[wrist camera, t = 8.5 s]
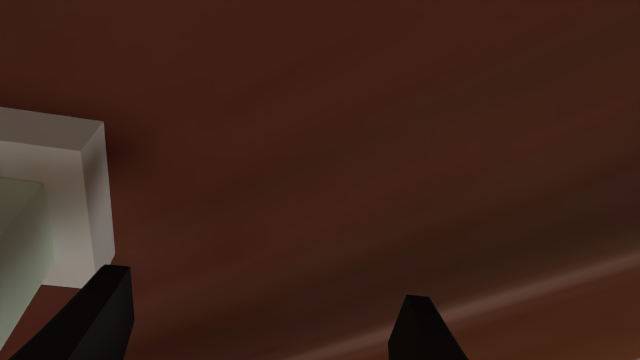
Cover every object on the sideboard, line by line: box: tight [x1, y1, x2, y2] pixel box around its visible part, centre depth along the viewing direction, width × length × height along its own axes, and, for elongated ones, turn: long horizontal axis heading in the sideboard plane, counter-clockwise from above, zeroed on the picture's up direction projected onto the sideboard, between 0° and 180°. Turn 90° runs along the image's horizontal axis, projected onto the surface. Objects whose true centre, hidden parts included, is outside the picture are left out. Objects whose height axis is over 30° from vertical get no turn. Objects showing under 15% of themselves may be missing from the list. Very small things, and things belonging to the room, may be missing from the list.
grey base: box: [0, 107, 115, 288], centre depth 22 cm, size 8×8×3 cm
